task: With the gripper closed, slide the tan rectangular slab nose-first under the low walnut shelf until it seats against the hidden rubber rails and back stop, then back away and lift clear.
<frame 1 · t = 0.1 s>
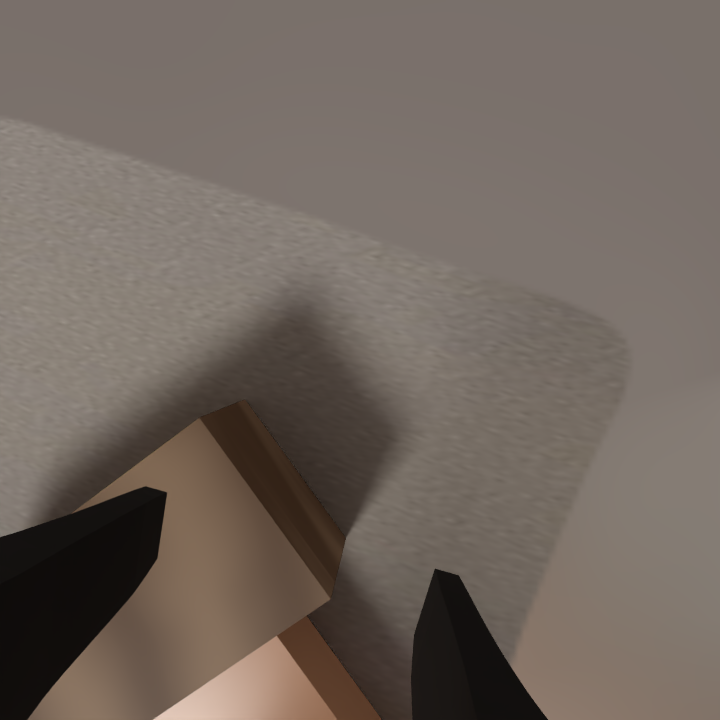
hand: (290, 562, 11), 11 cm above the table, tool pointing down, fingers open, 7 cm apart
overhang shelf: (171, 557, 23), on the table
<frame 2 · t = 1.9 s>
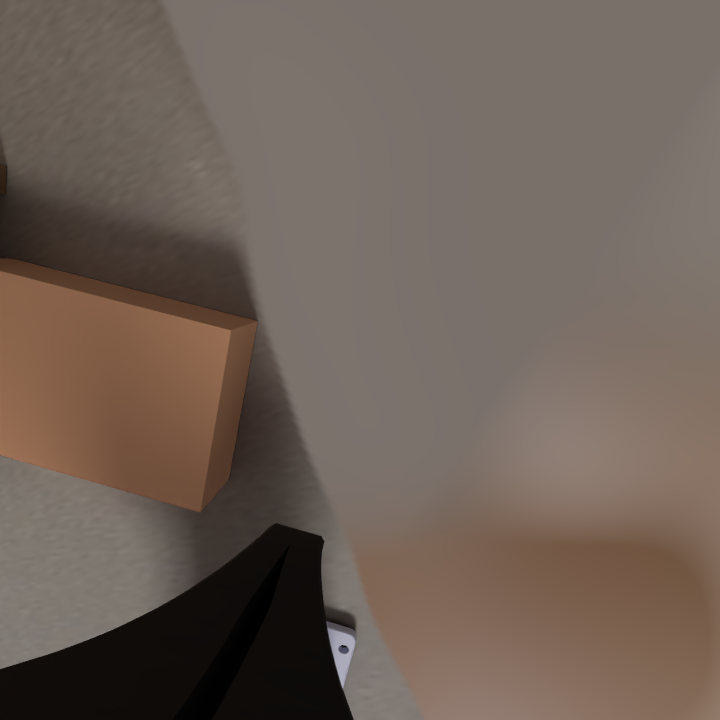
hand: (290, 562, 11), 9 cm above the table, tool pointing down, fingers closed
tan rectangular slab: (123, 371, 21), on the table
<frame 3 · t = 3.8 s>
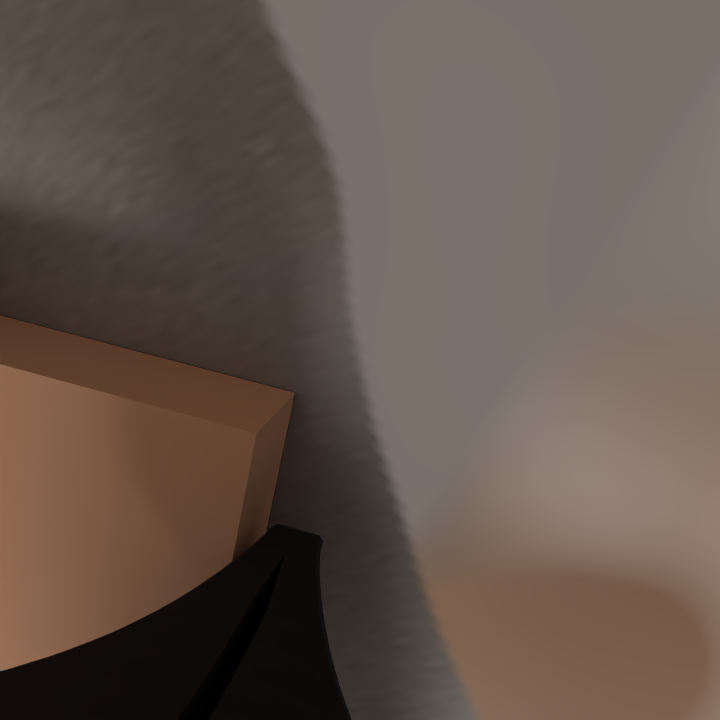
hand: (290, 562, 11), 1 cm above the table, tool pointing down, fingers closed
tan rectangular slab: (76, 467, 13), on the table, touching gripper
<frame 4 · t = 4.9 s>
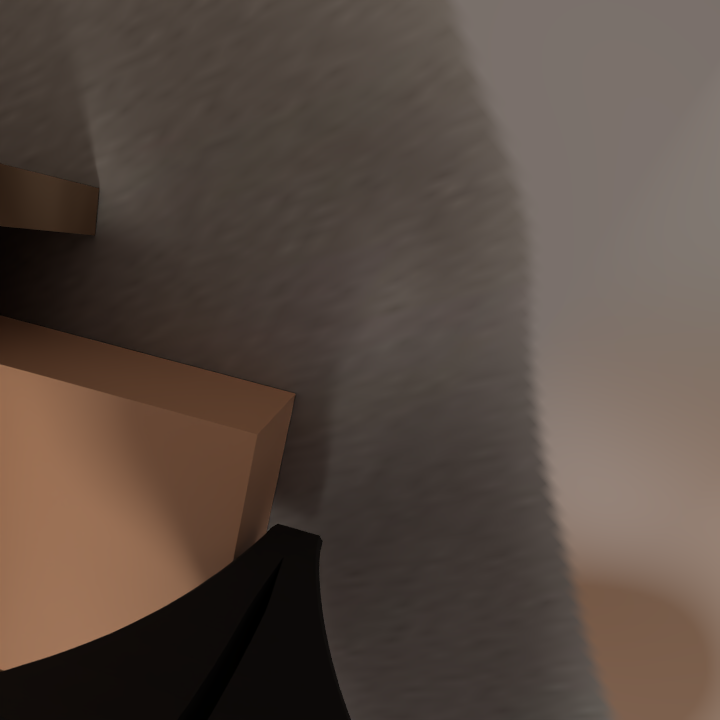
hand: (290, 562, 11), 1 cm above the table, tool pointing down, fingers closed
tan rectangular slab: (76, 467, 13), on the table, touching gripper
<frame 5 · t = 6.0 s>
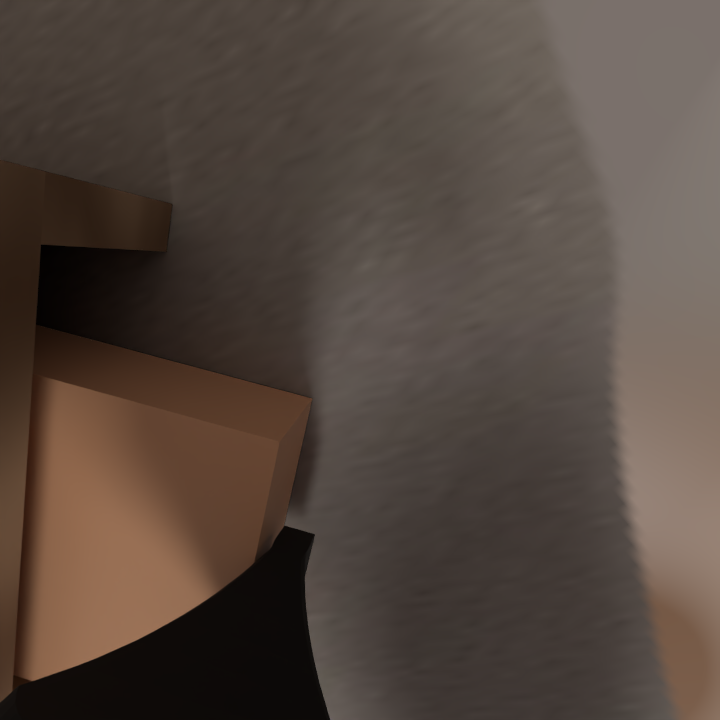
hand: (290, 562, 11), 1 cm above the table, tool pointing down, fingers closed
tan rectangular slab: (89, 471, 13), on the table, touching gripper, overhang shelf
overhang shelf: (3, 446, 13), on the table
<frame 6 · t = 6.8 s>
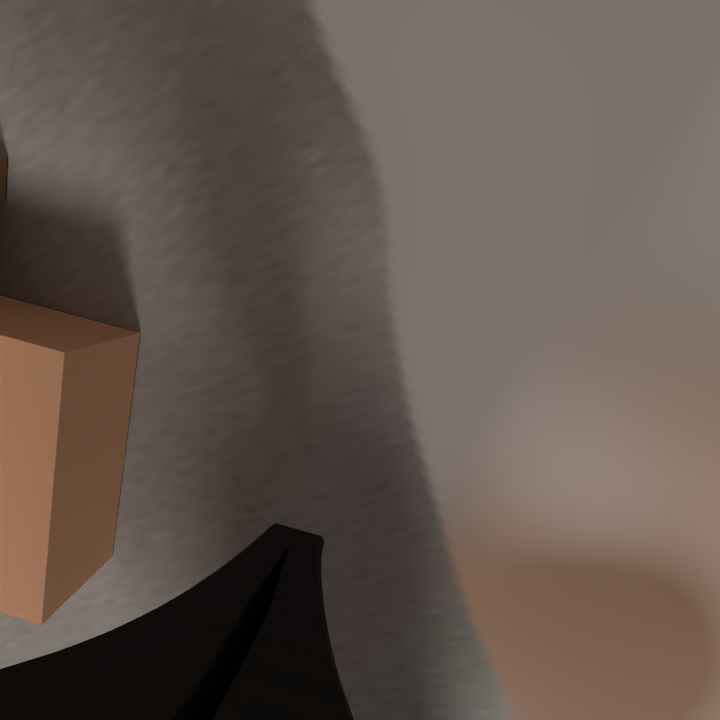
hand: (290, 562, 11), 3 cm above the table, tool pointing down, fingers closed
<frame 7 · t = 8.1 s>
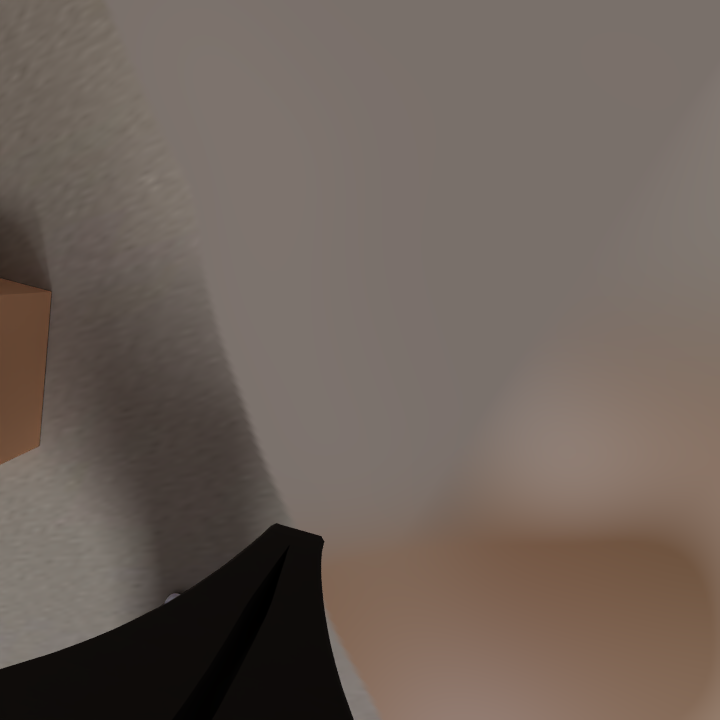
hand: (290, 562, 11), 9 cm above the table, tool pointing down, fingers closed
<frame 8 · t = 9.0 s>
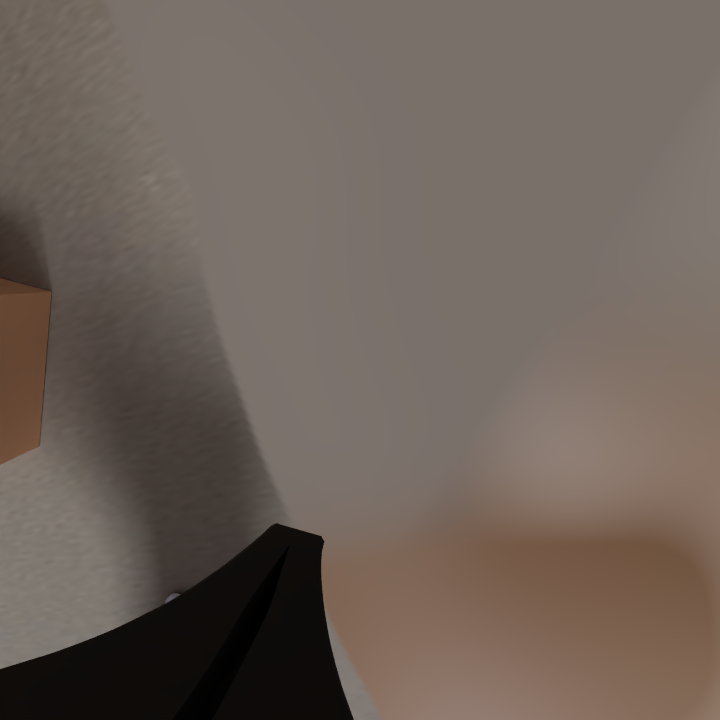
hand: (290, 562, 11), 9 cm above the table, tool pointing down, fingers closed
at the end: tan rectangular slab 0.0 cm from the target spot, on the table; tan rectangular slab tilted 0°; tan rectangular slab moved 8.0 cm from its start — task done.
